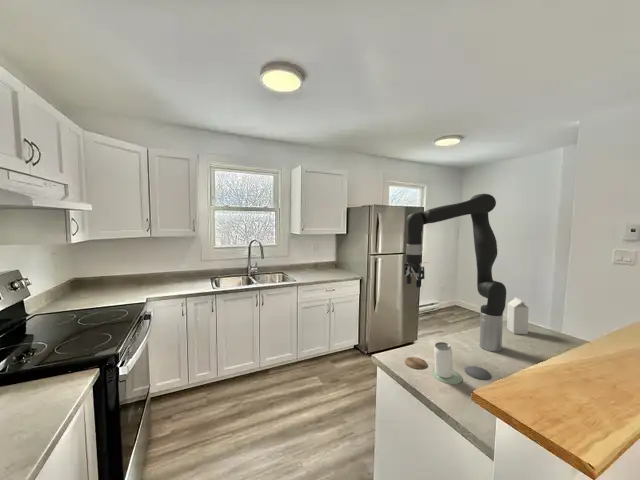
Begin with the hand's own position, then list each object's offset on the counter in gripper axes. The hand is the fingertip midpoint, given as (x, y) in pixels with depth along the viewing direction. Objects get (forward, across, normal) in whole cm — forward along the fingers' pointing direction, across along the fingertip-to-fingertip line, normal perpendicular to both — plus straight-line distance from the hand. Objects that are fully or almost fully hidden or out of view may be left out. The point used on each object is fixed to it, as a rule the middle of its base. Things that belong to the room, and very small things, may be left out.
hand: (413, 285), depth 135 cm
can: (+30, -28, +4) cm, 41 cm away
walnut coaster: (+30, -17, +10) cm, 36 cm away
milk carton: (+30, -1, -65) cm, 72 cm away
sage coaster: (+31, -29, +3) cm, 42 cm away
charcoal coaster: (+30, -30, -10) cm, 44 cm away
